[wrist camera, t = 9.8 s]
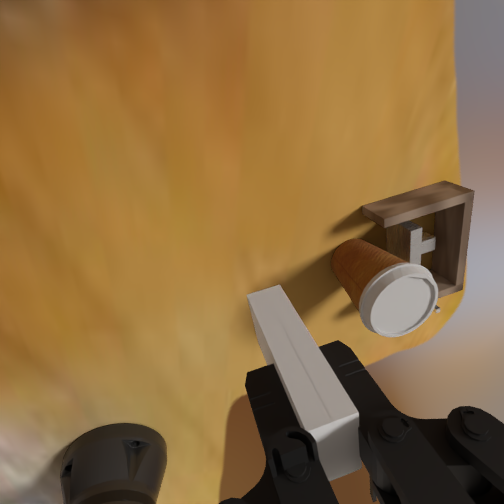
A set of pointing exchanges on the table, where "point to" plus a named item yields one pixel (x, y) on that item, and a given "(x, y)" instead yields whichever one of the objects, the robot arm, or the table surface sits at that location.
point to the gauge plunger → (409, 243)
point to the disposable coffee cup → (384, 287)
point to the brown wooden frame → (445, 228)
